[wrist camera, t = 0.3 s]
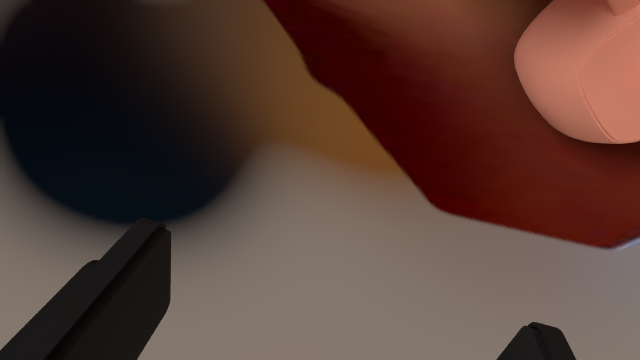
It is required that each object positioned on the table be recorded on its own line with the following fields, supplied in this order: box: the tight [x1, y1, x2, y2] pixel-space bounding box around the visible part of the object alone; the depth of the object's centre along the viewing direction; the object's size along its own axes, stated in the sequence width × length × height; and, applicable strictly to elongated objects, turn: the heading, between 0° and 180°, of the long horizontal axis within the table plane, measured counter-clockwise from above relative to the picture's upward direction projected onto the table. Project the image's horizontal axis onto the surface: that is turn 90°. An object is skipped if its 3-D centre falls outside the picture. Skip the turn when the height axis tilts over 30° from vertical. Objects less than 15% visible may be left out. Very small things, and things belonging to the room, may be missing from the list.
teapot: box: [514, 0, 640, 144], centre depth 28 cm, size 13×20×12 cm
